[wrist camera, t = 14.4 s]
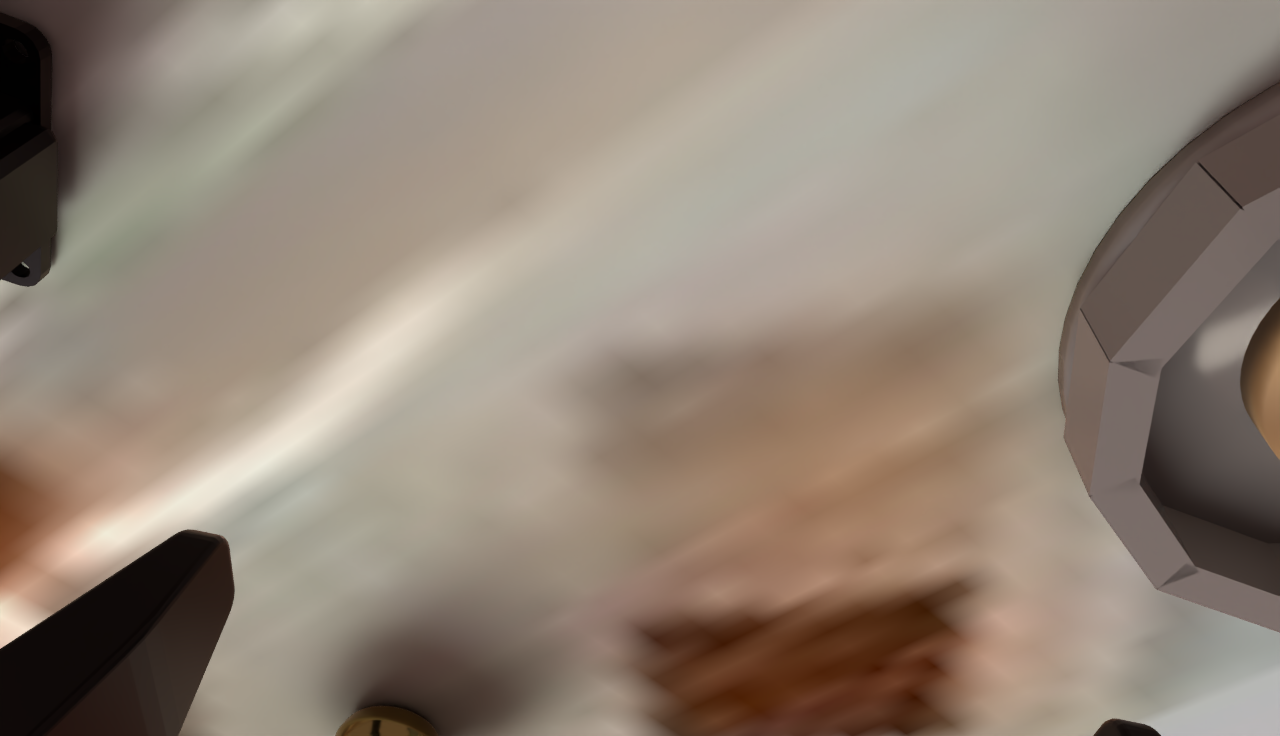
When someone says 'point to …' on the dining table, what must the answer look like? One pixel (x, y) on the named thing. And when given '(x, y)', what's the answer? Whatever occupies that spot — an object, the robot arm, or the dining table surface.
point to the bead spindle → (1264, 378)
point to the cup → (385, 723)
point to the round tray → (1185, 369)
